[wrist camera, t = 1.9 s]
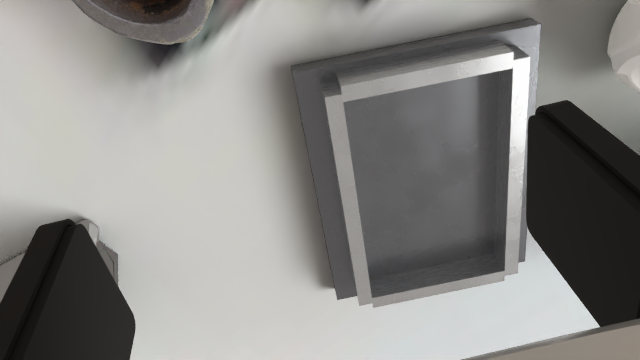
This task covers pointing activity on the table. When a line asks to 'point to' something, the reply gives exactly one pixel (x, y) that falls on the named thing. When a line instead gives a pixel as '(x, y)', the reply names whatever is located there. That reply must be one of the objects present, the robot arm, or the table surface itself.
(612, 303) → the robot arm
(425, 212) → the cradle
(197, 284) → the table surface
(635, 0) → the white swirled ball
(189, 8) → the pipe
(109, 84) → the table surface
